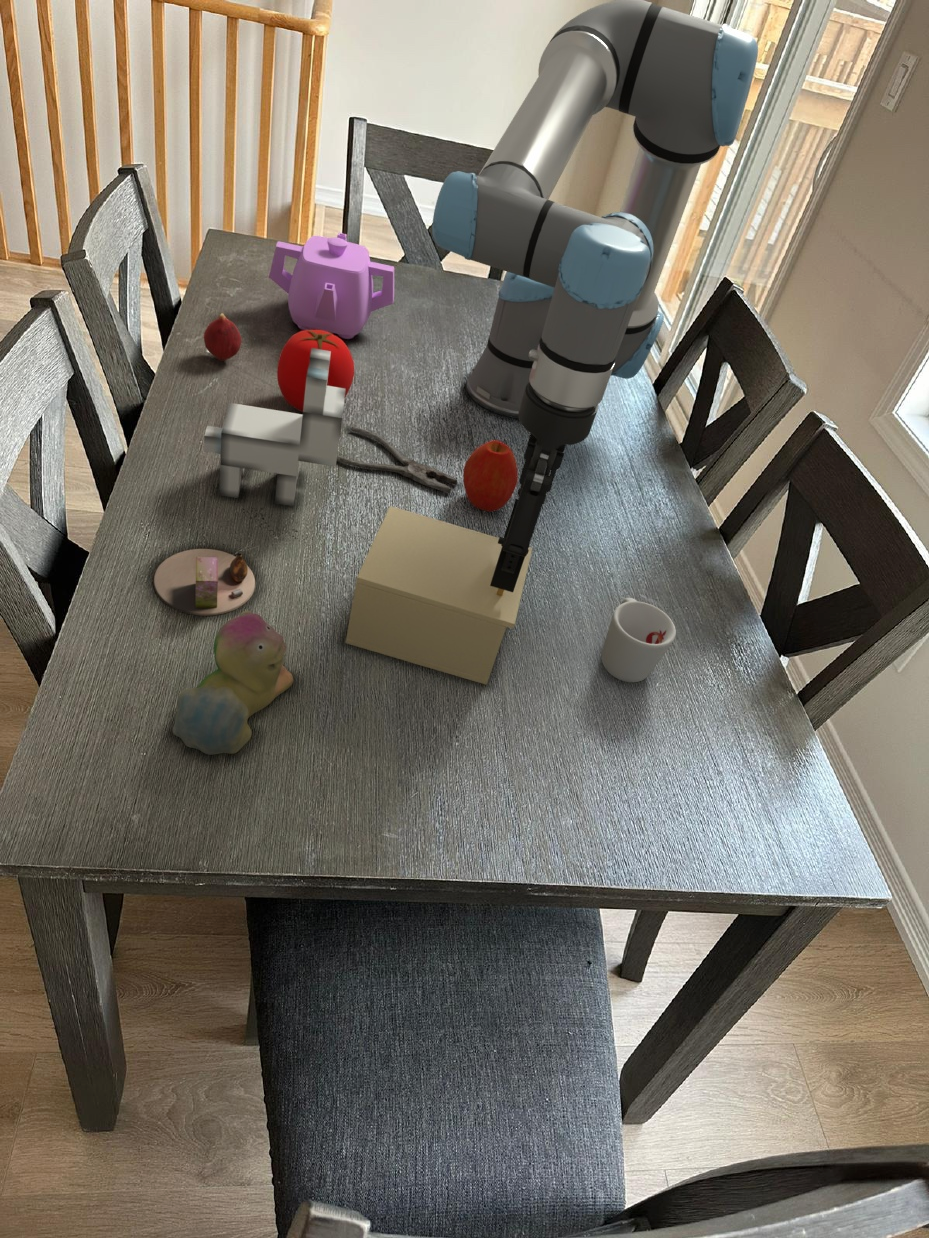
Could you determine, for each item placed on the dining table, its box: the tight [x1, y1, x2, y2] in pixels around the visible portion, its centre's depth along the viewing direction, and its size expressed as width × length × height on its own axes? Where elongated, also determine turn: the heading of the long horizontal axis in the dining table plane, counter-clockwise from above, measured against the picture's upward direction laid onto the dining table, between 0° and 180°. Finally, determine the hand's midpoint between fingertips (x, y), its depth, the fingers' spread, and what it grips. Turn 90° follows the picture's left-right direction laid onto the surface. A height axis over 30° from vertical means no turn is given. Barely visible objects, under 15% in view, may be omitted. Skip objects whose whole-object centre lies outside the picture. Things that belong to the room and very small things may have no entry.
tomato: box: [276, 329, 355, 413], centre depth 138 cm, size 12×12×13 cm
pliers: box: [337, 426, 458, 494], centre depth 136 cm, size 10×1×20 cm
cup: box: [601, 597, 677, 683], centre depth 112 cm, size 11×8×8 cm
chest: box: [345, 581, 507, 686], centre depth 108 cm, size 18×15×10 cm
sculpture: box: [172, 610, 294, 755], centre depth 92 cm, size 15×8×10 cm, turn 164°
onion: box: [203, 312, 242, 362], centre depth 144 cm, size 6×6×8 cm
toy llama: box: [203, 348, 346, 507], centre depth 118 cm, size 8×18×20 cm, turn 93°
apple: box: [462, 439, 519, 513], centre depth 129 cm, size 8×8×11 cm
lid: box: [355, 505, 533, 630], centre depth 102 cm, size 18×15×9 cm
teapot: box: [268, 232, 395, 340], centre depth 159 cm, size 19×18×15 cm
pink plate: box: [152, 548, 256, 617], centre depth 107 cm, size 12×12×4 cm
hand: (507, 566), depth 103 cm, fingers closed on lid, 7 cm apart
